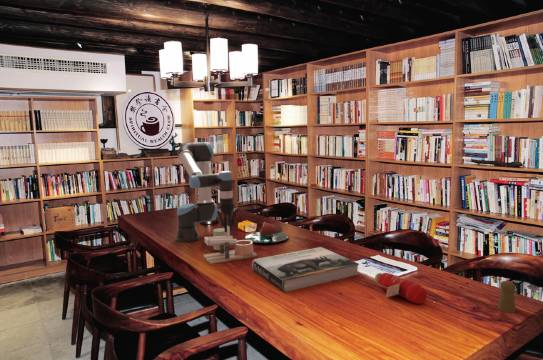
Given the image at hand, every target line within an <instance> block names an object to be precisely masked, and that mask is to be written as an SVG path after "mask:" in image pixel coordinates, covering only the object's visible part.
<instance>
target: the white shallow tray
mask: <svg viewBox="0 0 543 360" xmlns="http://www.w3.org/2000/svg"><path fill="white" fill-rule="evenodd" d="M233 237H234V236H232V235H230V236H217V237H213V236H204V237H203V239H204V241H203V242H204V244H206V246H208V247H209V246H211V247H212V246H213V247H214V245H225V243H226V242H229V246H231V245H235V244H236V243H237V241H238V240H237V238H233Z"/></svg>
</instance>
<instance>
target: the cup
mask: <svg viewBox="0 0 543 360" xmlns="http://www.w3.org/2000/svg"><path fill="white" fill-rule="evenodd" d="M233 248H234V249H233V250H234V251H235V254H236V255H250V254H252V253H253V252H254V242H252V241H249V240H247V239H241V240H237V243H236V244H235V245H234V247H233Z"/></svg>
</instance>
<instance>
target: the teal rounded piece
mask: <svg viewBox="0 0 543 360" xmlns="http://www.w3.org/2000/svg"><path fill="white" fill-rule="evenodd" d="M283 231H284V229H283V228H282V227H281V225H277V224H272V223H269V222H265V221H263V222H262V226H261V227H260V231H258V232H252V233H249V234H248V235H246V236H245V237H244V238H245V240H249V241H252V242H253V243H261V244H269V243H278V242H281V241H285V240H287V239H288V238H289V236H288V234H286V233H283Z"/></svg>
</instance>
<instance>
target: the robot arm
mask: <svg viewBox="0 0 543 360" xmlns="http://www.w3.org/2000/svg"><path fill="white" fill-rule="evenodd" d="M214 155H215V154H214V148H213V145H212V144H211V143H210V142H208V141H198V142H197V141H196V142H194V141H193V142H186V143H183V144H181V146H179V148H178V149H177V155H176V156H177V159H178V161H179V162H180V163H181V164H182V165H183V168H184V169H185V171H186V173H187V174H188V176H189V178H188V184H189V187H190V188H191V189H197V192H198V193H197V194H198V201H196V205H195V204H194V203H185V204H181V205H179V206H178V207H177V209H176V216H177V232H176V236H175V241H176V242H178V243H179V242H180V243H189V242H190V243H191V242H195V241H197V240H199V238H200V235H199V232H198V230H197V227H196V224H199V223H205V222H211V221H215V220H216V218H219V223H220V225H221V227H223V228H224V230H225V232H226V236H231V232H232V226H234V225H235V222H236V218H237V217H236V216H237V212H238V210H239V209H238V208H237V207H235V206H234V192H233V191H234V190H233V173H232V171H231V170H230V171H229V170H223V171H220V172H218V173H216V172H215V173H210V164H211V162H212V159H214ZM212 187H219V197H220V198H219V203H220V205H219V209H218V205H217V204H216V203H215V201H214V200H213V199H212V189H211V188H212ZM217 216H218V217H217ZM222 216H223V217H222Z"/></svg>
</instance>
